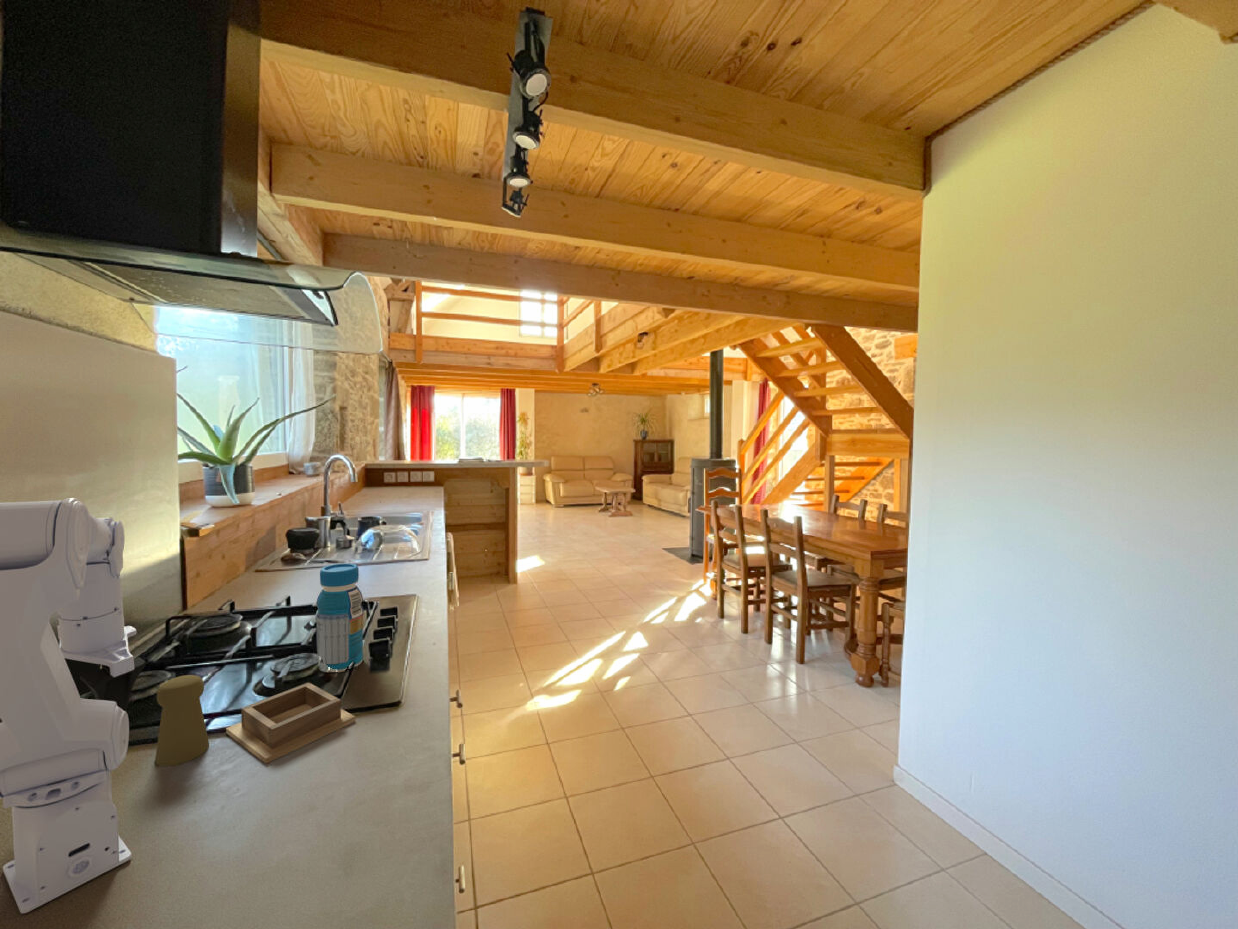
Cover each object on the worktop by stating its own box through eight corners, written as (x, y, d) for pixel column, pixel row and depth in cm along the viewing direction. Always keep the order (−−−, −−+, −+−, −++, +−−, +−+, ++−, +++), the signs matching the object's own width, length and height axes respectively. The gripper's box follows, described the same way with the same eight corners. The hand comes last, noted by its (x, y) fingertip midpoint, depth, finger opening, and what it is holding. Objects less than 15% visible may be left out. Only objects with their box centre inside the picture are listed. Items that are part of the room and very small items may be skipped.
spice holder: (355, 721, 83) (354, 698, 83) (265, 764, 72) (265, 738, 72) (313, 697, 90) (313, 676, 90) (226, 733, 79) (225, 709, 79)
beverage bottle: (320, 679, 96) (319, 575, 95) (312, 663, 103) (311, 565, 102) (368, 667, 102) (367, 568, 101) (358, 652, 108) (357, 559, 107)
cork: (220, 742, 77) (218, 671, 76) (181, 768, 71) (179, 691, 70) (183, 738, 77) (181, 668, 77) (142, 764, 71) (140, 688, 71)
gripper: (161, 614, 65) (167, 706, 68) (104, 582, 71) (111, 668, 74) (86, 638, 59) (96, 739, 62) (30, 601, 65) (41, 695, 67)
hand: (99, 703), depth 67 cm, fingers open, 7 cm apart
